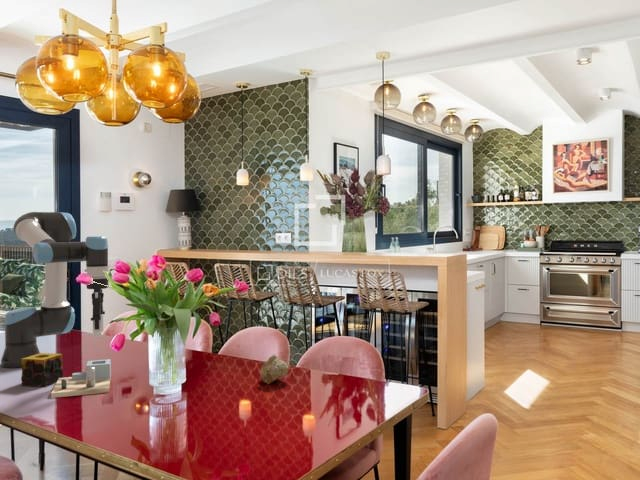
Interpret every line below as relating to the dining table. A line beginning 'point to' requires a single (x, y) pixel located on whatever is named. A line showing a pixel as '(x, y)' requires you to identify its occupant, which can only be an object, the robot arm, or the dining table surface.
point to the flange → (96, 370)
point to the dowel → (64, 383)
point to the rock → (273, 369)
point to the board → (79, 387)
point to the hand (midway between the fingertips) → (98, 335)
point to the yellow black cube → (41, 369)
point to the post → (90, 377)
